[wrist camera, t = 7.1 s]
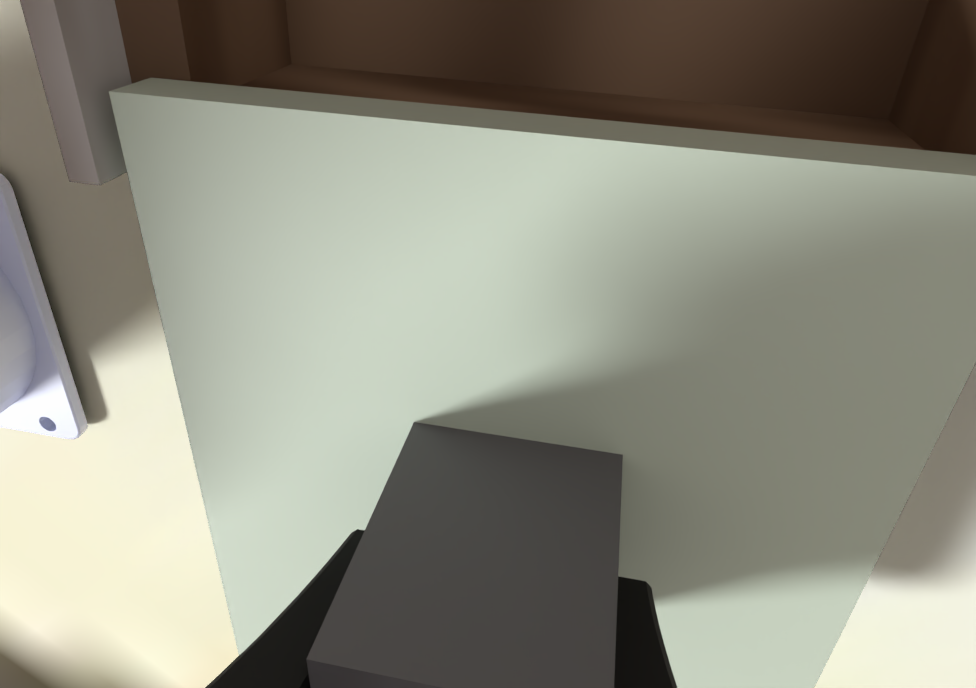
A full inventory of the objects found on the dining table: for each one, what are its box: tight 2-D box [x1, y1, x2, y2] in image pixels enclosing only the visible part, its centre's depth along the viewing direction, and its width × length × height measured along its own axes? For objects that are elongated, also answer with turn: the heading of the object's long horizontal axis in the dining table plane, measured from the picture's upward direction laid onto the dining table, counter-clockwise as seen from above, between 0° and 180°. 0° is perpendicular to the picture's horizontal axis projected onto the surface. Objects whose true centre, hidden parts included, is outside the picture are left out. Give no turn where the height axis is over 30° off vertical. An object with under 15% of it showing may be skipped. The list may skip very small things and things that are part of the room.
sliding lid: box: [109, 78, 976, 688], centre depth 11 cm, size 12×14×6 cm
